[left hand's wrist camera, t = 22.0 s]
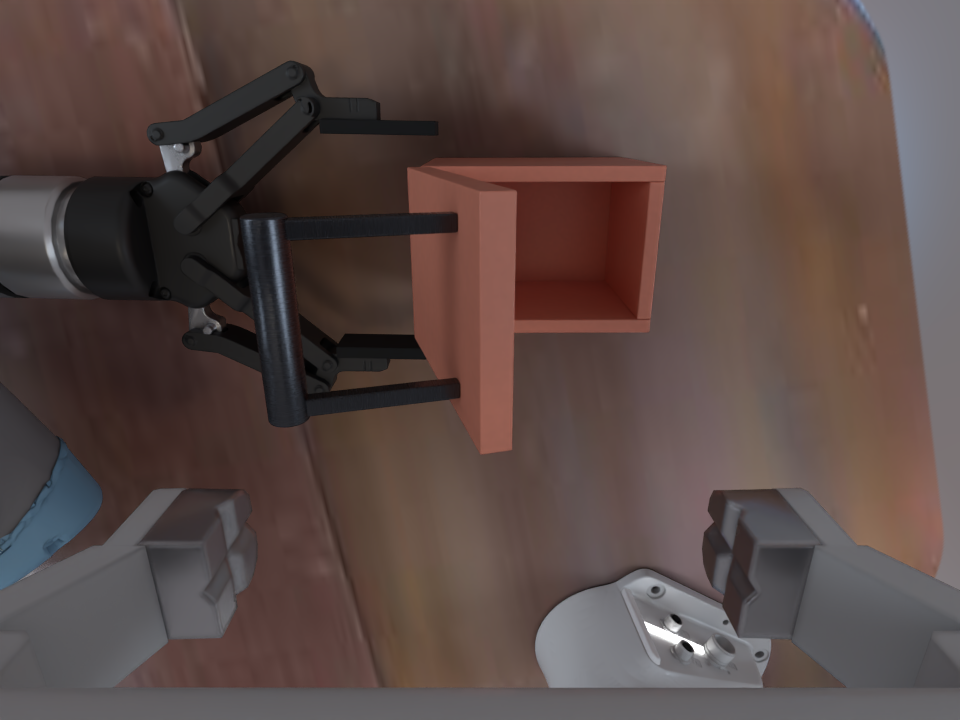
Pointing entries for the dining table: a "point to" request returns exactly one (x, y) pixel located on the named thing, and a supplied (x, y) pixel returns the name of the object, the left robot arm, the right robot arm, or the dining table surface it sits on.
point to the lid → (436, 303)
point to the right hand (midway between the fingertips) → (438, 244)
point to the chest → (579, 239)
